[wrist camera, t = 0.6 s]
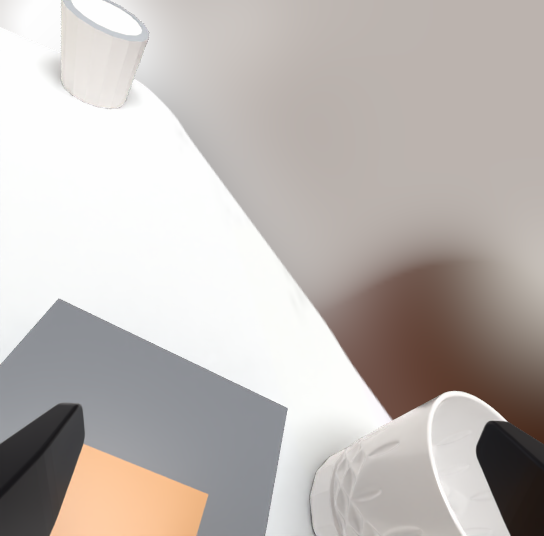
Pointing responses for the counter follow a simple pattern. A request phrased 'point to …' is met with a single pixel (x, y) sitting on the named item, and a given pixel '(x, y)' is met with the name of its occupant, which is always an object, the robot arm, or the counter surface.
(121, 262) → the counter surface
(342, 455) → the white cup
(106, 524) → the shutter
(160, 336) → the counter surface
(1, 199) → the counter surface
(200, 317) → the counter surface
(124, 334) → the socket
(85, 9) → the shot glass
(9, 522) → the robot arm
